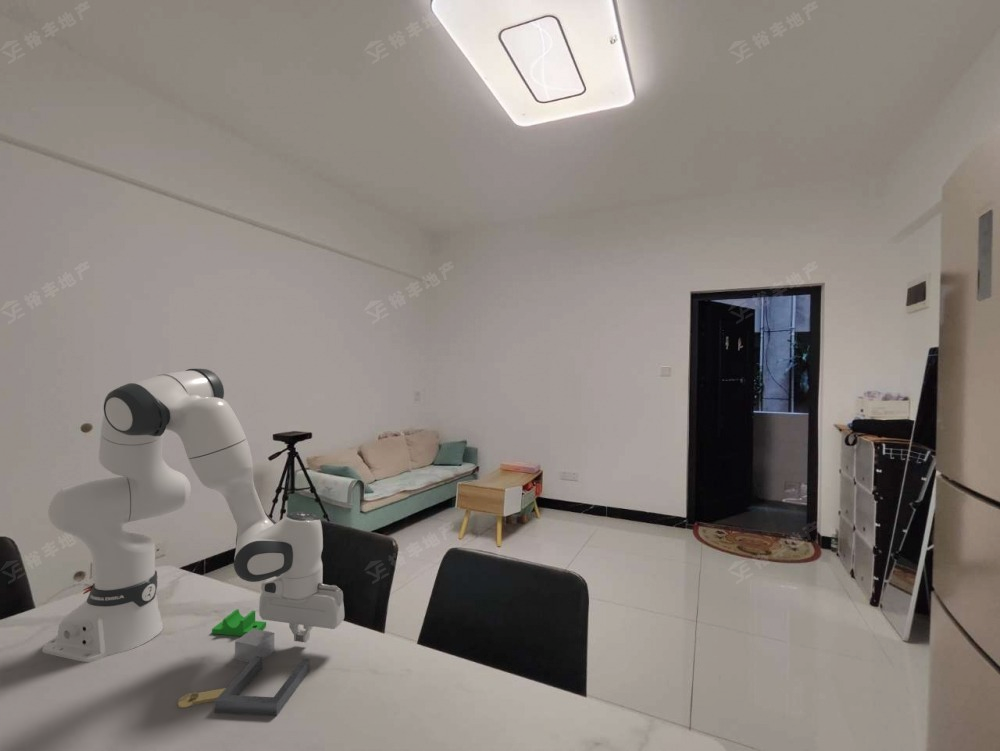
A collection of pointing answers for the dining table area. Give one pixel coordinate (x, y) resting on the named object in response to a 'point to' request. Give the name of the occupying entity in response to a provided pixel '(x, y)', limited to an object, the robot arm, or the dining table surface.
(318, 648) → the dining table surface
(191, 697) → the brass key
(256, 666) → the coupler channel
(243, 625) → the pipe clamp
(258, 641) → the block
